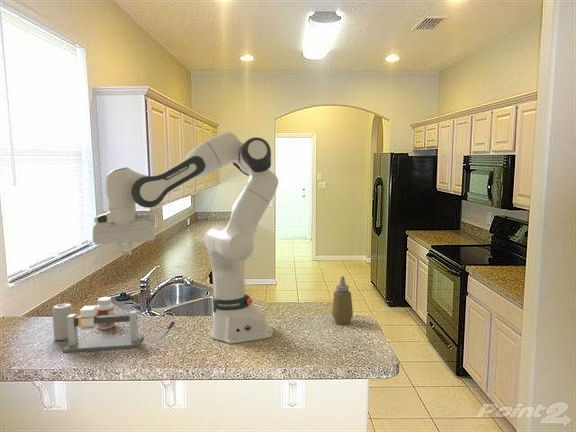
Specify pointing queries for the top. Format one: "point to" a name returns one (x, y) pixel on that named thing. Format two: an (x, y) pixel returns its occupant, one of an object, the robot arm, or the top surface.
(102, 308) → the pill bottle
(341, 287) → the squeeze bottle
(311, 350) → the top surface
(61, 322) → the beverage can
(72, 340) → the grey slider rail base
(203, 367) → the top surface
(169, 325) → the chef's knife
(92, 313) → the cream sliding block
